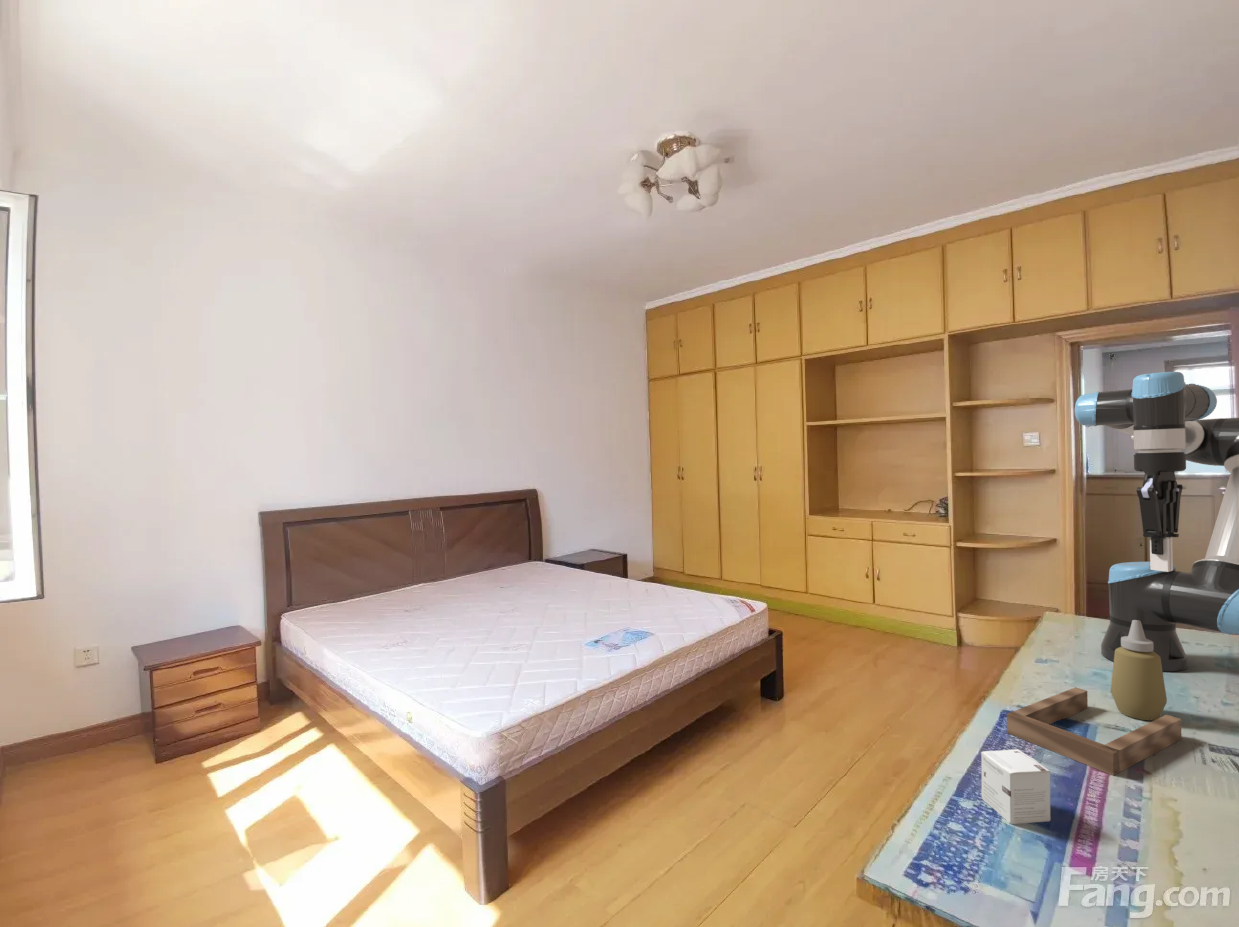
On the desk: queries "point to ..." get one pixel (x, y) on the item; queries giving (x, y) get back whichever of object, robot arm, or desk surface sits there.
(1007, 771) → the skincare box
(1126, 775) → the desk surface
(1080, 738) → the bottle rest
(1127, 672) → the squeeze bottle
